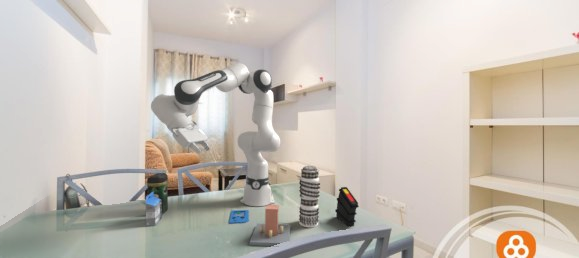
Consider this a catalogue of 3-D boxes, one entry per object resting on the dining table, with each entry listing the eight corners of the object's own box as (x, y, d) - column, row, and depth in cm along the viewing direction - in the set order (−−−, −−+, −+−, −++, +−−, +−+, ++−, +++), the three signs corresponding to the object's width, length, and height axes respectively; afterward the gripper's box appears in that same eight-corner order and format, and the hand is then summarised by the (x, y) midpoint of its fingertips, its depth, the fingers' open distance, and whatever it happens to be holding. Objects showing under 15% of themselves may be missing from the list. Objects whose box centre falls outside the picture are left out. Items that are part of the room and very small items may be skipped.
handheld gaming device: (229, 221, 104) (231, 209, 119) (228, 224, 104) (231, 212, 119) (248, 221, 106) (248, 209, 121) (248, 223, 106) (248, 211, 121)
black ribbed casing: (339, 210, 119) (346, 186, 112) (352, 232, 108) (361, 207, 101) (332, 211, 118) (339, 186, 111) (344, 233, 106) (354, 207, 100)
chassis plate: (257, 226, 102) (257, 217, 102) (290, 227, 102) (290, 218, 102) (249, 245, 86) (249, 235, 86) (288, 246, 86) (288, 236, 86)
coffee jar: (153, 208, 120) (153, 171, 120) (169, 208, 121) (170, 171, 121) (143, 216, 111) (144, 175, 110) (161, 216, 112) (162, 175, 111)
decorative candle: (293, 222, 107) (295, 166, 107) (308, 217, 113) (310, 164, 112) (308, 229, 100) (309, 169, 100) (323, 224, 106) (325, 167, 105)
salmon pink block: (266, 229, 96) (266, 204, 96) (278, 230, 96) (278, 205, 96) (264, 235, 92) (265, 208, 92) (277, 235, 92) (277, 209, 91)
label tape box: (155, 225, 101) (156, 196, 101) (144, 226, 100) (145, 196, 100) (162, 217, 109) (162, 190, 109) (152, 218, 109) (152, 191, 108)
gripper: (174, 121, 91) (200, 148, 91) (197, 122, 111) (218, 144, 111) (163, 133, 91) (188, 160, 91) (187, 131, 112) (208, 153, 112)
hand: (204, 151), depth 101 cm, fingers open, 8 cm apart
